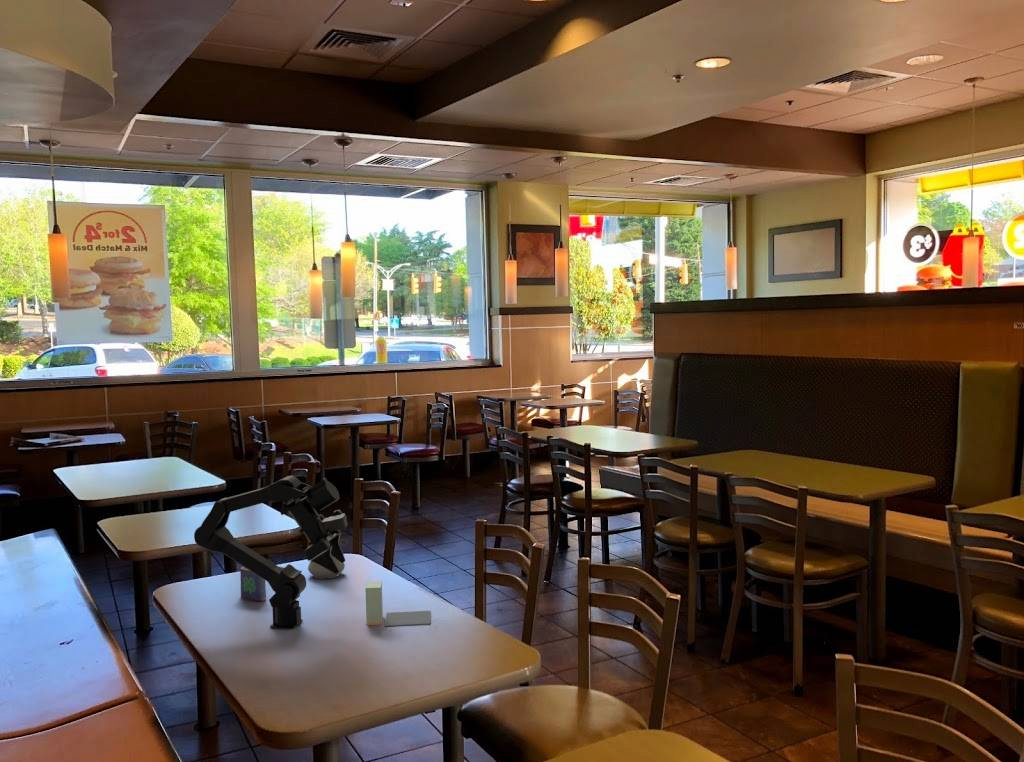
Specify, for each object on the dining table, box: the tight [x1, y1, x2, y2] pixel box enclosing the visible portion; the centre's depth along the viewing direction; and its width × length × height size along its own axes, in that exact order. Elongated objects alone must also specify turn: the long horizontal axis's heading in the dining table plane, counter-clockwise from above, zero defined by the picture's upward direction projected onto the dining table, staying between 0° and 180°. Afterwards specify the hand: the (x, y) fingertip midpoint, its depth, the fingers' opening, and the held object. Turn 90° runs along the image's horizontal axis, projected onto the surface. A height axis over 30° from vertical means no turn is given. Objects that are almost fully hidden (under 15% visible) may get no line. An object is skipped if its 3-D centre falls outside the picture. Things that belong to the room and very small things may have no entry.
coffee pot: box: [307, 538, 348, 580], centre depth 268 cm, size 21×12×15 cm, turn 34°
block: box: [364, 580, 384, 626], centre depth 231 cm, size 4×6×10 cm, turn 6°
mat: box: [384, 610, 431, 627], centre depth 232 cm, size 12×10×1 cm
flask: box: [239, 566, 267, 603], centre depth 250 cm, size 9×3×11 cm, turn 61°
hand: (340, 567), depth 228 cm, fingers open, 9 cm apart
